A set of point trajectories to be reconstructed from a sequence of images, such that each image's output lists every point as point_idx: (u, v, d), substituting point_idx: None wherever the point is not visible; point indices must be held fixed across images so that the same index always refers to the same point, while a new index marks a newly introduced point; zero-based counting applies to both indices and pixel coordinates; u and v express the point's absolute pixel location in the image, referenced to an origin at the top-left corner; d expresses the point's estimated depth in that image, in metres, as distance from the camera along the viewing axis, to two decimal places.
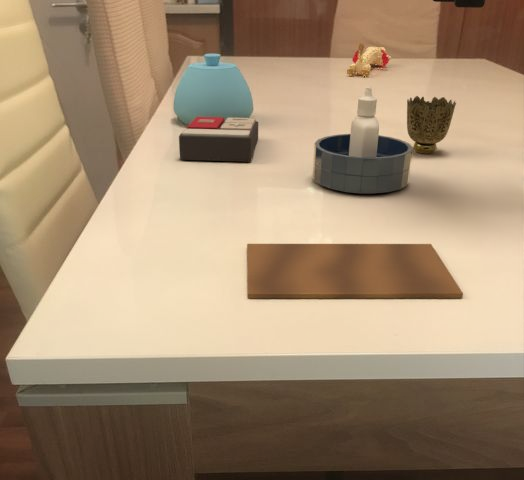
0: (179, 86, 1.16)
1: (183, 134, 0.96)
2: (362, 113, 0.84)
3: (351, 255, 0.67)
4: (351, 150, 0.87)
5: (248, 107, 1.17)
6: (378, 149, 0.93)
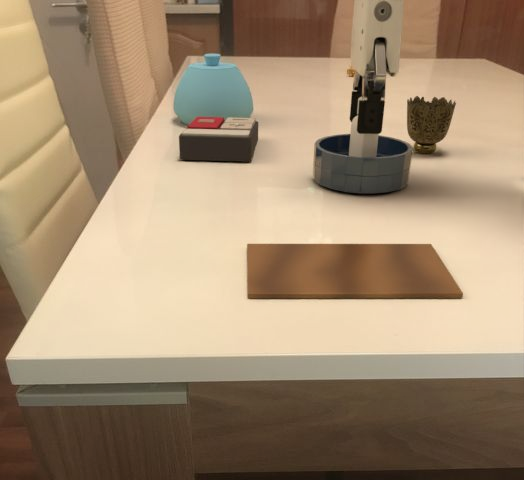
0: (179, 86, 1.16)
1: (183, 134, 0.96)
2: None
3: (351, 255, 0.67)
4: (351, 150, 0.87)
5: (248, 107, 1.17)
6: (378, 149, 0.93)
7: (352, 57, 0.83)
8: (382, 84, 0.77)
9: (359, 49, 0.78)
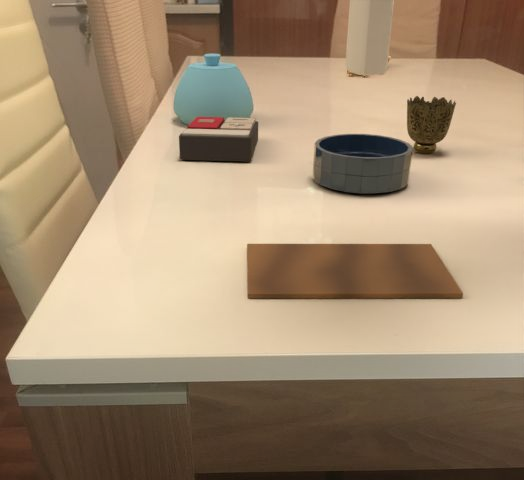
0: (179, 86, 1.16)
1: (183, 134, 0.96)
2: None
3: (351, 255, 0.67)
4: (352, 21, 0.55)
5: (248, 107, 1.17)
6: (378, 149, 0.93)
7: None
8: None
9: None
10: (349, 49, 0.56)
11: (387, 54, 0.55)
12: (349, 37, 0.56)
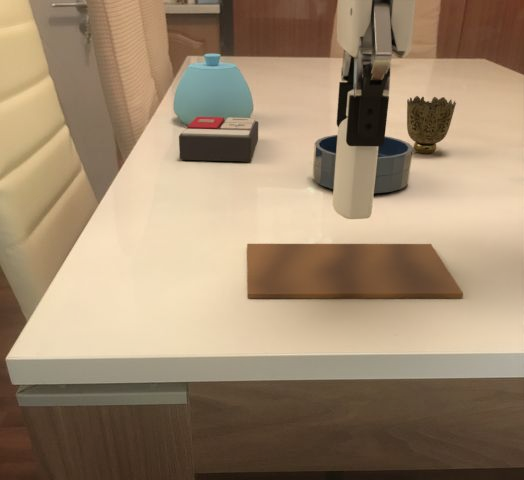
0: (179, 86, 1.16)
1: (183, 134, 0.96)
2: None
3: (351, 255, 0.67)
4: (338, 170, 0.58)
5: (248, 107, 1.17)
6: (378, 149, 0.93)
7: (339, 29, 0.54)
8: (385, 69, 0.48)
9: (349, 14, 0.49)
10: (336, 193, 0.60)
11: (371, 202, 0.58)
12: (336, 182, 0.60)
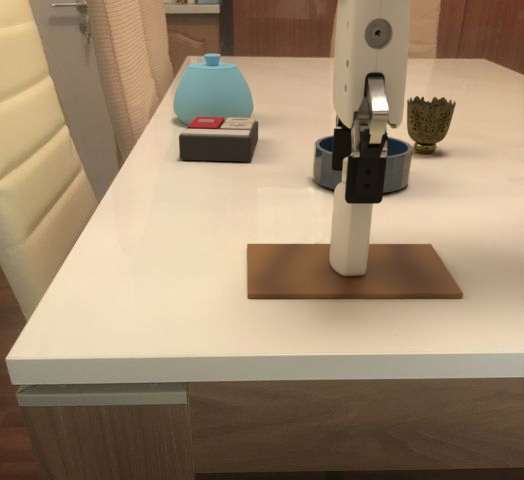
0: (179, 86, 1.16)
1: (183, 134, 0.96)
2: None
3: None
4: (335, 230, 0.61)
5: (248, 107, 1.17)
6: None
7: (334, 97, 0.57)
8: (383, 128, 0.49)
9: (343, 89, 0.52)
10: (332, 251, 0.63)
11: (366, 260, 0.61)
12: (332, 241, 0.63)
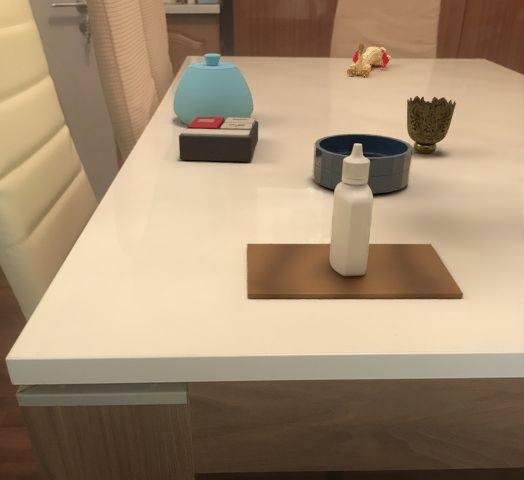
0: (179, 86, 1.16)
1: (183, 134, 0.96)
2: (349, 181, 0.59)
3: None
4: (335, 230, 0.61)
5: (248, 107, 1.17)
6: (378, 149, 0.93)
7: None
8: None
9: None
10: (332, 250, 0.63)
11: (366, 260, 0.61)
12: (332, 241, 0.63)
